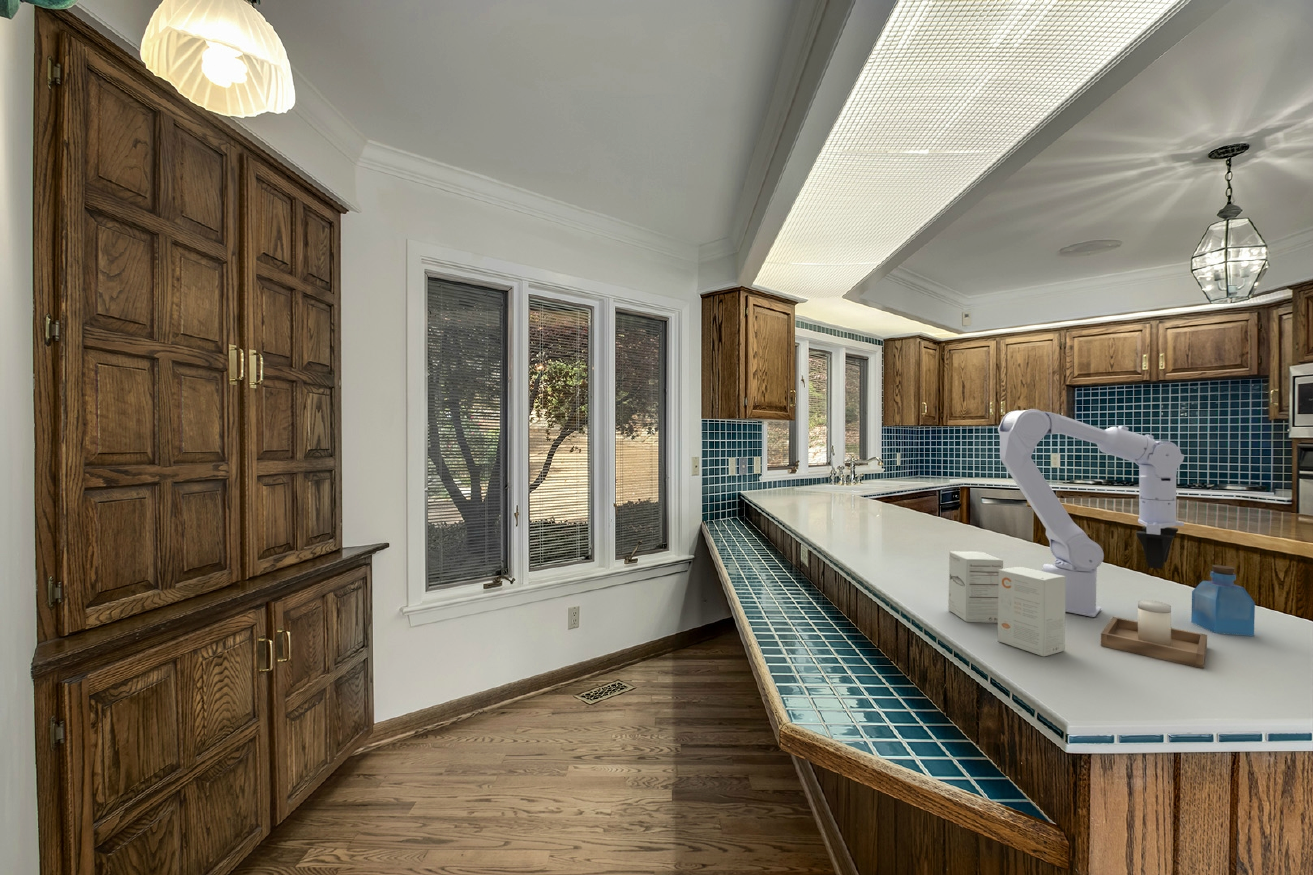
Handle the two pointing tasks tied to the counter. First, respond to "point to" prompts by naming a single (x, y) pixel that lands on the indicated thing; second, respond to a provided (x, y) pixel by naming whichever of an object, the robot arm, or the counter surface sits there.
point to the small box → (1031, 610)
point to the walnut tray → (1182, 650)
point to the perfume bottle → (1223, 604)
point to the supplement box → (974, 586)
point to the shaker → (1154, 622)
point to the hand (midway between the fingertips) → (1157, 564)
